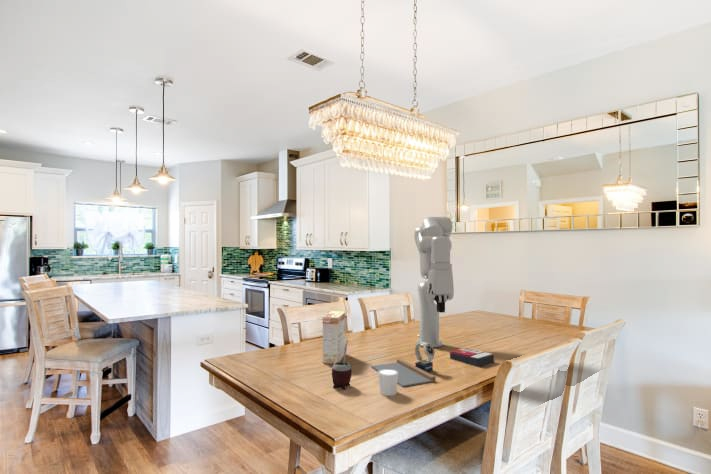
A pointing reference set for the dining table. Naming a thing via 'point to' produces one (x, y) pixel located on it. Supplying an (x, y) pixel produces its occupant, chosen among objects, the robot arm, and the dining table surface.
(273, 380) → the dining table surface
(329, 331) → the coffeecake box
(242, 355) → the dining table surface
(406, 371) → the mat
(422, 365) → the watch
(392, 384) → the white cup
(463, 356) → the calculator
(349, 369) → the mate gourd
